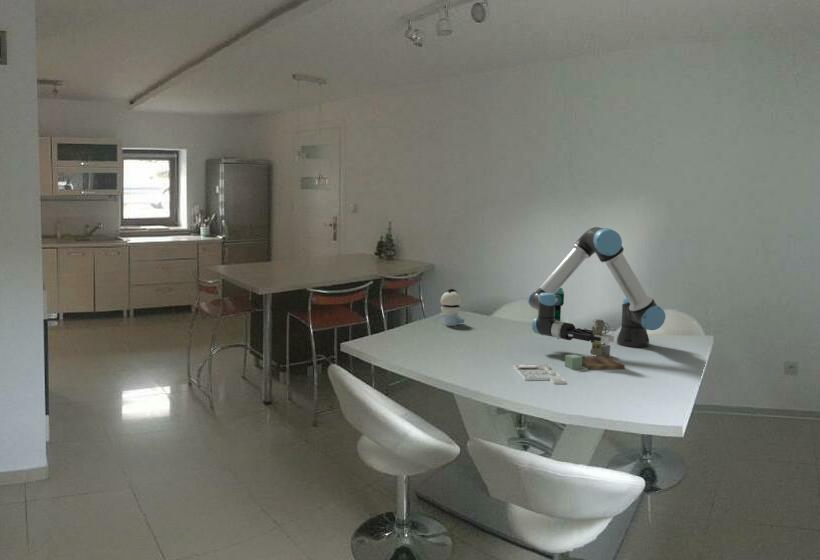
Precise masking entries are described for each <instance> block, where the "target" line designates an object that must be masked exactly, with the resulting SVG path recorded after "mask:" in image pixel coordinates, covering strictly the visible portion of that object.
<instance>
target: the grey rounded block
mask: <svg viewBox="0 0 820 560" xmlns="http://www.w3.org/2000/svg"><path fill="white" fill-rule="evenodd" d="M601 350H602V354H601V355H595V356H610V357H611V345H610V344H606V343H605V345H601Z"/></svg>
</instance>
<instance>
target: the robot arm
mask: <svg viewBox="0 0 820 560" xmlns="http://www.w3.org/2000/svg"><path fill="white" fill-rule="evenodd" d="M622 244H623V241H622V237H621V235H620V234H619V233H618V232H617V231H616V230H613V229H611V228H608V227H607V228H605V227H604V228H603V227H597V226H595V227H592V228H588V229H587V230H585V232H584V233H582V235H581V236H580V237H579V238H578V239H577V240H576V241H575V243H574V244H573V245H572V246H573V247H572V249H571V250H570V251H569V253H568V254H567V255H566V256H565V257H564V259H563V260H562V261H561V262H560V263H559V264H558V265H557V267H555V269H554V270H553V271H552V272H551V274H550V275H549V276H548V277H547V278H546V279H545V281H544V282H542V284H541V285H540V286H539V287H538V288H537V289H536V291H533V292H531V293H530V294H528V296H527V303H528V305H529V306H530V307H531V308H533V309H534V310H537V312H538V313H537V317H535V318H534V319H533V320H532V324H531V329H532V331H533V333H535V334H538V335H541V336H545V337H552V338H556V339H557V340H560V339H562V340H565V341H571V340H573V339H574V340H580V341H585V342H590V343H591V344H592V343H593V340H594V341H596V342H601V344H604V343H605V344H607V345H609V342H610V343H614V342H615V335H612V334H608V333H606V334H602V336H600V335H593V330H592V329H588V328H580V327H579V328H578V327H575V325H574V323H570V322H565V321H561V320H560V321H561V322H560V321H555V320H554V319H555V303H556V296H555V293H556V292H557V291H558V290H559V289H560V288H562V287H563V285H564V284H565V283H567V281H568V280H569V278H570V277H571V276H572V275H573V274H574V273H575V272H576V271H577V269H578V268H579V267H580V266H581V265H582V263H584V261H586V259H590V258H591V257H592V255H594V254H596V256H597V258H598V260H599V261H600V262H601V263H605V264H606V266H607V268H608V269H609V270H610V273H611V274H612V276H613V278H614V279H615V281H616V283H617V284H618V286H619V288H620V290H621V291H622V293H623V295H624V296H625V298H623V299H622V304H621V309H622V310H621V326H620V330H619V332H618V335H617V338H616V344H617V345H620V346H623V347H630V348H645V347H649V346H650V339H649V335H648V331H657V330H659V329H660V328H661V327H663V325H664V323H665V320H666V312H665V310H664V309H663V308H662V307H661V306H659V305H657V302H656V301H655V300H654V298H653V296H651V295H648V294H647V293H646V291H645V290H644V288H643V286H642V284H641V283H640V281H639V279H638V278H637V276H636V274H635V272H634V271H633V268H632V267H631V266H630V263H629V262H628V260H627V259H626V256H625V255H624V250H625V249H624V246H623V245H622ZM647 330H648V331H647Z"/></svg>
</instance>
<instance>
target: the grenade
mask: <svg viewBox="0 0 820 560" xmlns="http://www.w3.org/2000/svg"><path fill="white" fill-rule="evenodd" d="M593 322H594V325H592V327H591V330H593V335H600V336H602V334H608V333H609V332H610V329H611V328H610V325H609V324H608V322H605V321H604V320H602V319H593ZM606 325H607V326H608V327H607V326H606ZM607 330H608V331H607ZM605 344H606V343H601V342H596V341H594V340H593V343H591V349H590V351H589V352H590V354H591V356H592V355H593V356H596V355H601V354H602V350H601V345H605Z"/></svg>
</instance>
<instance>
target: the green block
mask: <svg viewBox="0 0 820 560" xmlns="http://www.w3.org/2000/svg"><path fill="white" fill-rule="evenodd" d="M582 357H583V356H581V355H578V354H576V353H575V354H574V353H573V354H566V355H565V357H564V358H565V359H564V367H566V368H567V369H570V370H579V369H582V368H583V366H582Z"/></svg>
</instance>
